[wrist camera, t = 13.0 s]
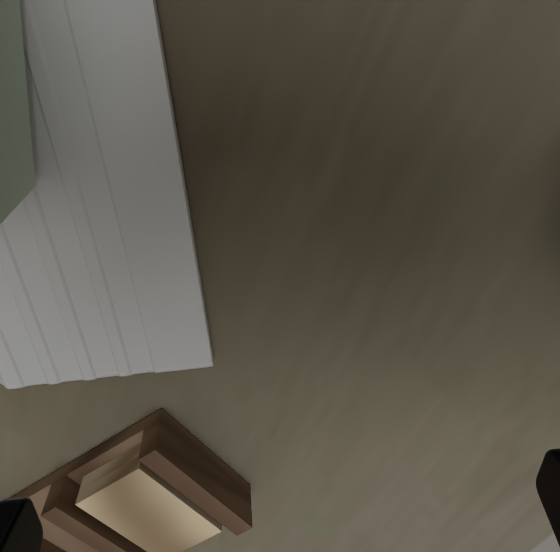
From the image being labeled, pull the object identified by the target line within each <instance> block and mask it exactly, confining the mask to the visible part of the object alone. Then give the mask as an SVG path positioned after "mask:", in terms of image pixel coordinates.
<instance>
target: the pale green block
mask: <svg viewBox="0 0 560 552" xmlns="http://www.w3.org/2000/svg"><path fill="white" fill-rule="evenodd" d="M35 186H36V183H35V172H34V161H33V149H32V138H31V127H30V115H29V104H28V93H27V82H26V70H25V59H24V48H23V37H22V25H21V14H20V3H19V0H0V224H1V223H2V222H3V221H4V220H5V219H6V218H7V217H8V216H9V214H10V213H11V212H12V211H13V210H14V209H15V208H16V207H17V206H18V205H19V204H20V202H21V201H22V200H23V199H24V198H25V197H26V196H27V195H28V194H29V193H30V191H31V190H32V189H33V188H34V187H35Z"/></svg>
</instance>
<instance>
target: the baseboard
mask: <svg viewBox="0 0 560 552" xmlns="http://www.w3.org/2000/svg"><path fill="white" fill-rule="evenodd" d="M19 3H20V14H21V25H22V37H23V48H24V59H25V70H26V82H27V93H28V104H29V115H30V127H31V138H32V149H33V161H34V172H35V183H36V186H35V187H34V188H33V189H32V190H31V191H30V193H29V194H28V195H27V196H26V197H25V198H24V199H23V200H22V201H21V202H20V204H19V205H18V206H17V207H16V208H15V209H14V210H13V211H12V212H11V213H10V214H9V216H8V217H7V218H6V219H5V220H4V221H3V222H2V223H1V224H0V384H2V385H4V386H5V387H6V388H7V389H14V388H23V387H25V386H29V385H38V384H49V385H50V384H59V383H61V382H65V381H74V380H85V381H86V380H95V379H96V378H101V377H110V376H120V377H122V376H130V375H132V374H137V373H146V372H155V373H158V372H167V371H176V370H185V369H194V368H203V367H212V366H213V351H212V345H211V339H210V333H209V326H208V320H207V314H206V308H205V302H204V296H203V290H202V283H201V277H200V271H199V265H198V259H197V253H196V246H195V240H194V234H193V228H192V222H191V216H190V210H189V203H188V197H187V191H186V185H185V179H184V173H183V166H182V160H181V154H180V148H179V142H178V136H177V129H176V123H175V117H174V111H173V105H172V99H171V93H170V86H169V80H168V74H167V68H166V62H165V56H164V49H163V43H162V37H161V31H160V25H159V19H158V13H157V6H156V0H19Z"/></svg>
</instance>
